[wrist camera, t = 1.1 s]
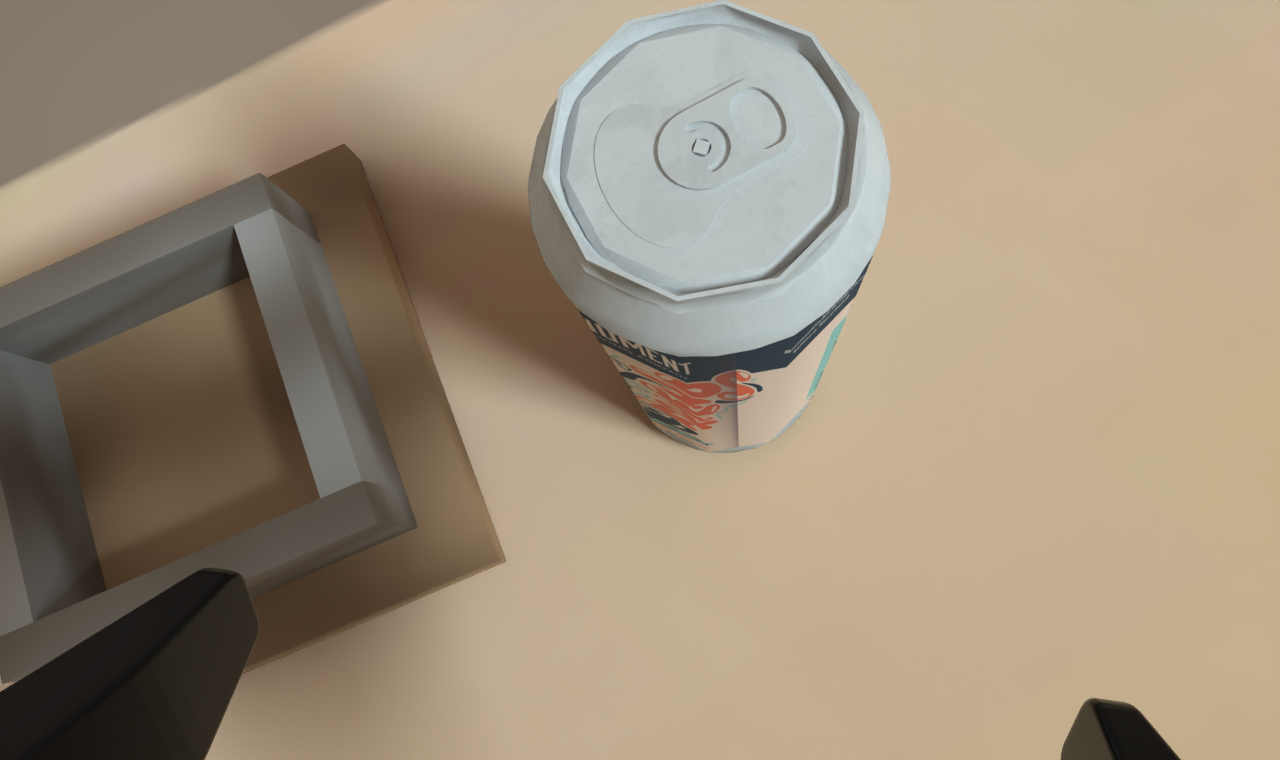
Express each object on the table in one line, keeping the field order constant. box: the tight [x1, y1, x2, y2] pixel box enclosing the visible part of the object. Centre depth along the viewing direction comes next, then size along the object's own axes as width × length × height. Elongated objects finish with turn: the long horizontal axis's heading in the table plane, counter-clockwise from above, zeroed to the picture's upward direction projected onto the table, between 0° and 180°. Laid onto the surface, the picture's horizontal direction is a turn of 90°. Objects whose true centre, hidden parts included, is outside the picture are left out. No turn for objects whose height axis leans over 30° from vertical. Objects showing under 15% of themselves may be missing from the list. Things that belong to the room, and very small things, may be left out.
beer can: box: [528, 0, 890, 453], centre depth 16 cm, size 5×5×12 cm
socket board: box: [0, 144, 506, 684], centre depth 22 cm, size 12×12×4 cm
